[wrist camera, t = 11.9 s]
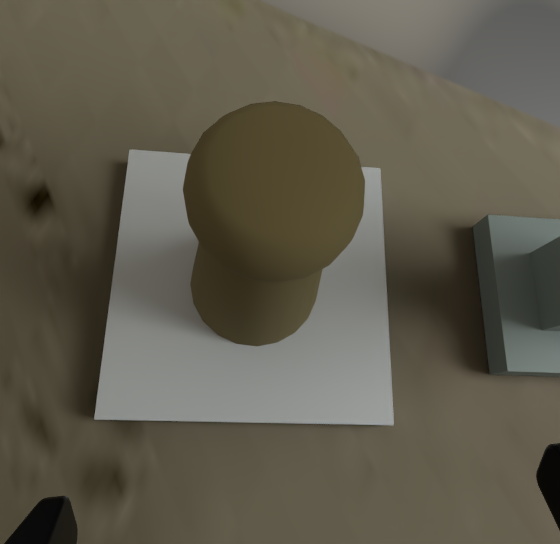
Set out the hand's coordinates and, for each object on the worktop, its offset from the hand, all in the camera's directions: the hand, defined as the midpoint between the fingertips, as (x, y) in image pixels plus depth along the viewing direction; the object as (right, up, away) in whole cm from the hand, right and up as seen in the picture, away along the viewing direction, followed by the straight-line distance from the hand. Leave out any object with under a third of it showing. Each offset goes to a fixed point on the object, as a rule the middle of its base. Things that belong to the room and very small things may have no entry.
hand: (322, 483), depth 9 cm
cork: (-2, +3, +14) cm, 14 cm away
